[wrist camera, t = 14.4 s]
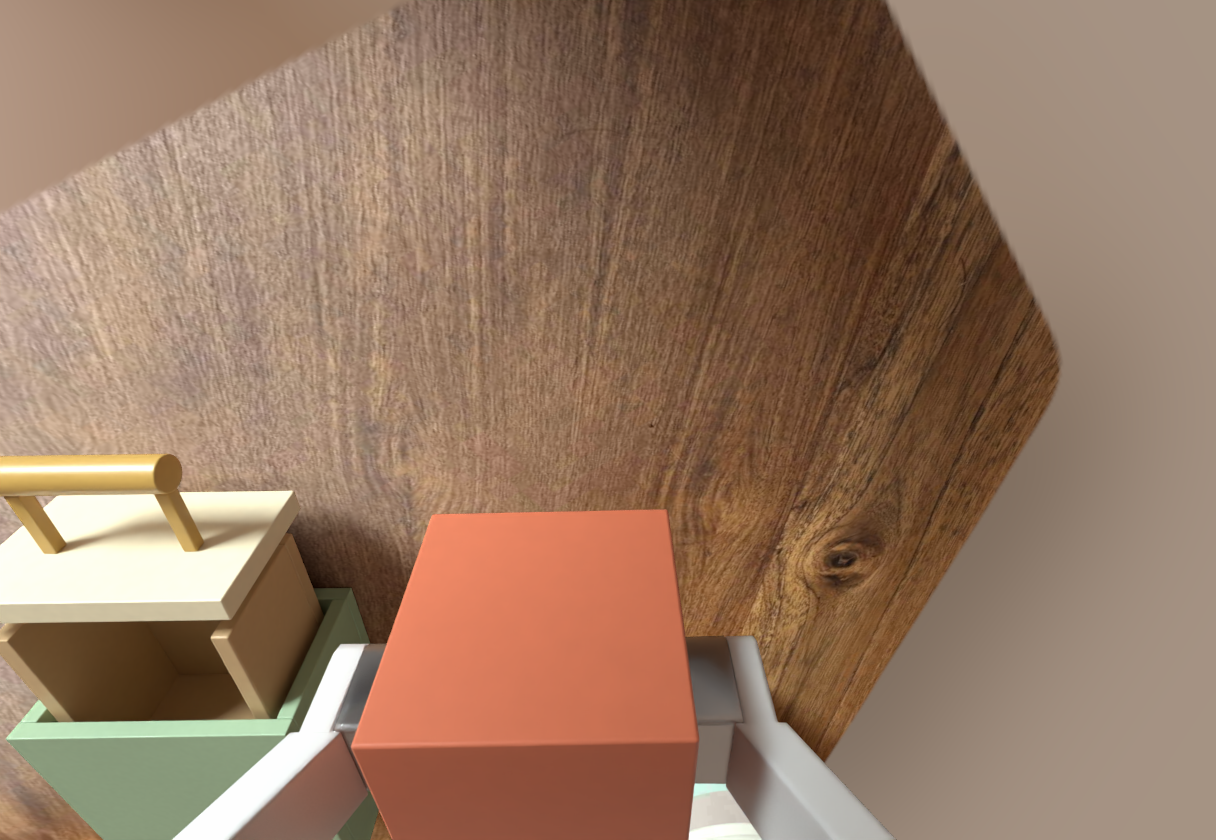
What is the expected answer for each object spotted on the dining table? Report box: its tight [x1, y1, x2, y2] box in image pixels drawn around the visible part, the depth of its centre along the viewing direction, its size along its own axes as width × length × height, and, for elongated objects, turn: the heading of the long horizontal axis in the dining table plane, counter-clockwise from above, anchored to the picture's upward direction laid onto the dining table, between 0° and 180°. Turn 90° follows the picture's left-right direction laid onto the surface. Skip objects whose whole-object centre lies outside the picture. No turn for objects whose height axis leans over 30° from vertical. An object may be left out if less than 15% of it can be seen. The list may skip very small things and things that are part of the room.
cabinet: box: [6, 588, 379, 840], centre depth 35 cm, size 15×13×9 cm
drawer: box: [0, 454, 324, 722], centre depth 29 cm, size 18×11×7 cm, turn 1°
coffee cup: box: [689, 784, 762, 840], centre depth 35 cm, size 8×8×12 cm
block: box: [351, 509, 699, 840], centre depth 11 cm, size 4×4×4 cm
